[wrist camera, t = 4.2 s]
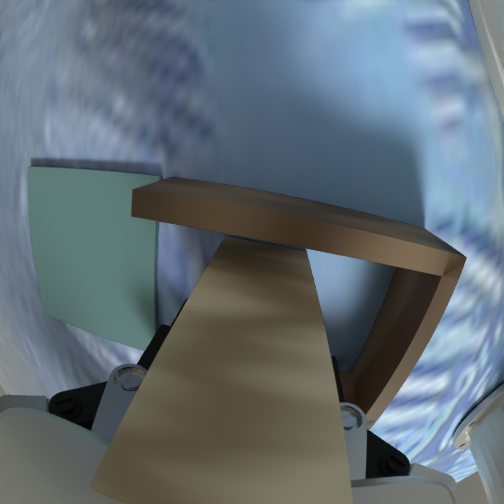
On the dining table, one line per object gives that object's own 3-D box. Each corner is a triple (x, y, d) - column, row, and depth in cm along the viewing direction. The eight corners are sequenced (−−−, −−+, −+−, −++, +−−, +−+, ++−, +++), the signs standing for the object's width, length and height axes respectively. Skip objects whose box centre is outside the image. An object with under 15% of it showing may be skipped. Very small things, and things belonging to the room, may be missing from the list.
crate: (425, 229, 12) (466, 257, 9) (357, 384, 16) (369, 429, 13) (172, 177, 13) (132, 189, 9) (165, 352, 17) (142, 396, 13)
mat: (162, 175, 13) (159, 176, 12) (158, 350, 17) (156, 354, 16) (32, 166, 13) (28, 166, 13) (47, 310, 17) (44, 313, 17)
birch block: (306, 251, 13) (354, 528, 2) (280, 346, 16) (269, 556, 4) (225, 235, 14) (89, 485, 2) (212, 333, 16) (145, 534, 5)
